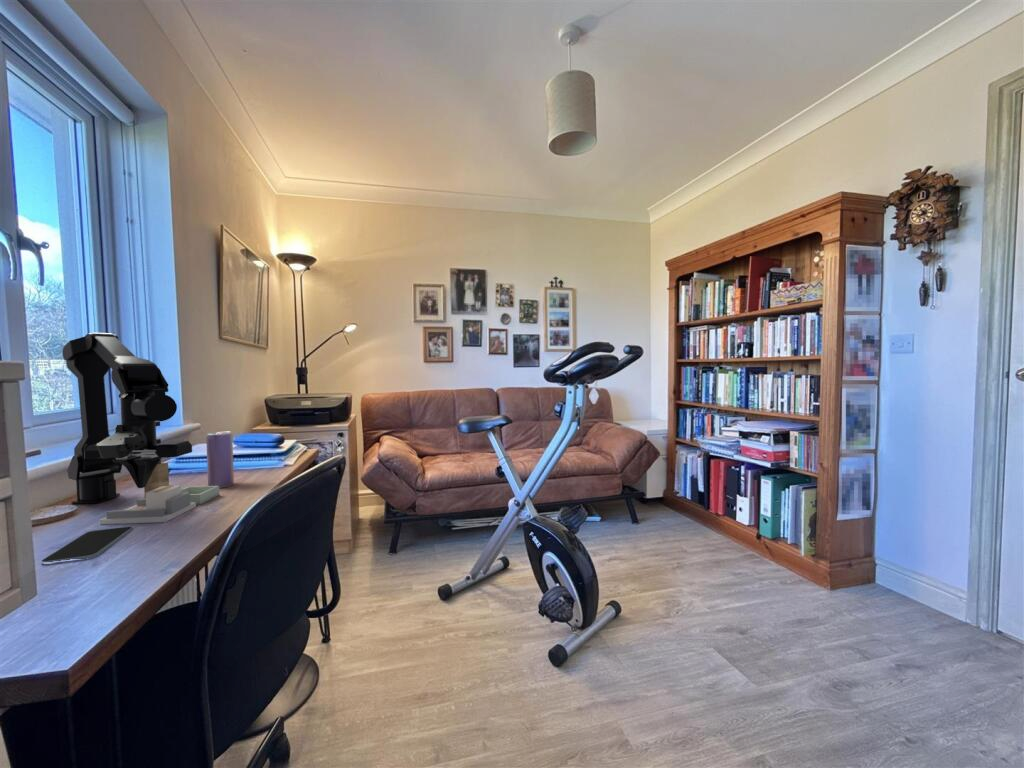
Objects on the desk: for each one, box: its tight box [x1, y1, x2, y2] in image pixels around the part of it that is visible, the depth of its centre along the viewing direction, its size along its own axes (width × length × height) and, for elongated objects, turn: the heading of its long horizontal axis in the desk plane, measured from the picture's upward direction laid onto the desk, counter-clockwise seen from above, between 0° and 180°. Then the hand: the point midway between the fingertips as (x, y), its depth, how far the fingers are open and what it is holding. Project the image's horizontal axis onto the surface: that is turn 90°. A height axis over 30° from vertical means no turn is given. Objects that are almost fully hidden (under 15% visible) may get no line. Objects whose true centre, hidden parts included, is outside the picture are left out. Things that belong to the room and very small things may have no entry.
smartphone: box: [41, 526, 133, 562], centre depth 79 cm, size 7×1×15 cm
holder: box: [181, 485, 220, 506], centre depth 105 cm, size 8×8×2 cm
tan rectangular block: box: [143, 458, 170, 498], centre depth 105 cm, size 3×3×10 cm
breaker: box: [146, 484, 182, 512], centre depth 94 cm, size 4×5×5 cm
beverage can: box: [205, 430, 235, 489], centre depth 117 cm, size 6×6×15 cm
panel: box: [99, 492, 197, 525], centre depth 94 cm, size 13×10×4 cm
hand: (141, 487), depth 94 cm, fingers closed
